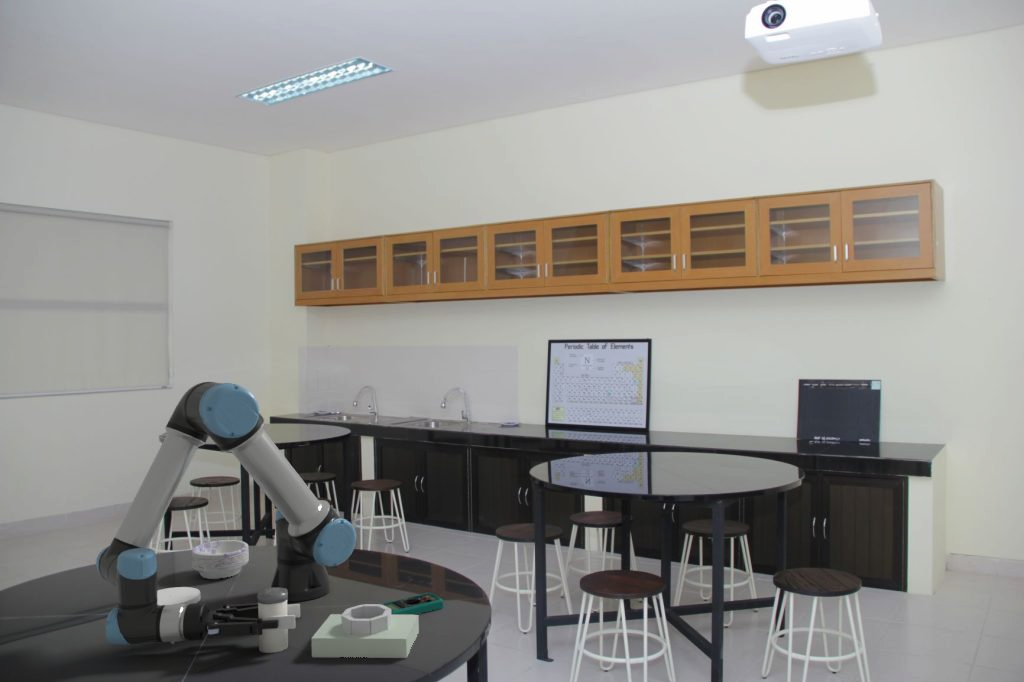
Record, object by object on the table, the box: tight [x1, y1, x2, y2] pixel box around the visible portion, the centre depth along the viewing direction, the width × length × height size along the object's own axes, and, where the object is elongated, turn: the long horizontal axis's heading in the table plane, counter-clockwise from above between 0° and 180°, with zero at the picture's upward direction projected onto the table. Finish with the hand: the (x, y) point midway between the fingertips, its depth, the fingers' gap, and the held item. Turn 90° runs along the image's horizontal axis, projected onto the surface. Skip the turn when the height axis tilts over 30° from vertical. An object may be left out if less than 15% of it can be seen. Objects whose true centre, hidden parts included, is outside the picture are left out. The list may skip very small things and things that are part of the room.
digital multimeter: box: [380, 592, 444, 615], centre depth 195 cm, size 7×15×3 cm, turn 126°
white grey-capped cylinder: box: [257, 587, 289, 654], centre depth 174 cm, size 6×6×12 cm
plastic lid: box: [157, 586, 202, 606], centre depth 202 cm, size 14×14×2 cm
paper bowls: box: [190, 539, 250, 580], centre depth 227 cm, size 15×15×8 cm
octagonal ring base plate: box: [311, 603, 420, 659], centre depth 174 cm, size 14×20×7 cm
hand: (297, 615), depth 174 cm, fingers closed on white grey-capped cylinder, 6 cm apart
